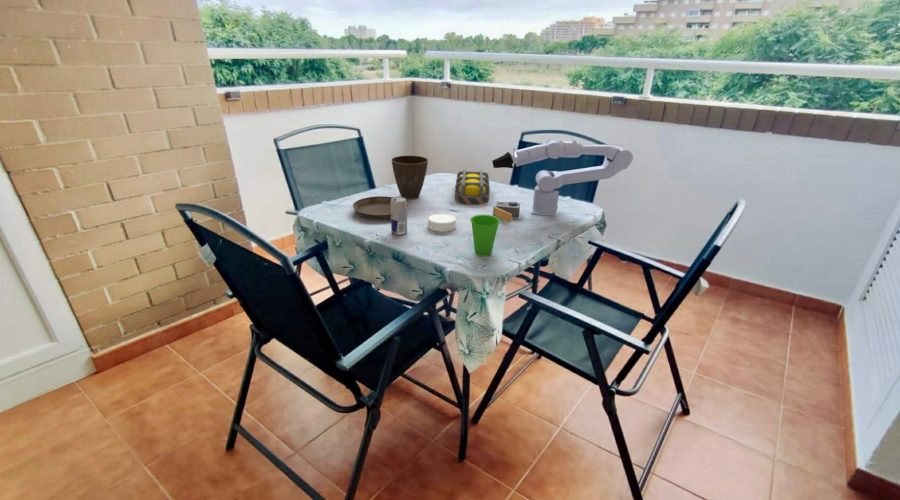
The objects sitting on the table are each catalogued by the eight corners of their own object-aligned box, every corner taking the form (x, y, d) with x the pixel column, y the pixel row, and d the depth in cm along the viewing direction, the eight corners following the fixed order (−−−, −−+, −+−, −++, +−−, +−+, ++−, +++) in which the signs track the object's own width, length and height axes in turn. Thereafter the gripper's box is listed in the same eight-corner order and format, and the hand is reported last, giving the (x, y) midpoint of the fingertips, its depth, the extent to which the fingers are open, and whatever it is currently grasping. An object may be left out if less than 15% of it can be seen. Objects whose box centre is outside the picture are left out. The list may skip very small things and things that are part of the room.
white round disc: (453, 221, 160) (453, 212, 158) (458, 231, 151) (458, 222, 149) (426, 222, 158) (426, 213, 156) (429, 233, 149) (429, 223, 148)
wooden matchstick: (511, 222, 158) (512, 214, 156) (509, 222, 157) (510, 214, 156) (494, 214, 165) (494, 206, 164) (492, 214, 164) (493, 206, 163)
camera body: (519, 212, 169) (520, 201, 167) (518, 219, 163) (519, 207, 161) (494, 210, 171) (495, 199, 169) (492, 216, 164) (493, 205, 162)
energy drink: (392, 229, 151) (391, 196, 146) (408, 229, 151) (407, 196, 146) (390, 235, 146) (389, 201, 141) (406, 235, 146) (405, 202, 141)
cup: (464, 255, 133) (466, 222, 128) (473, 244, 141) (475, 212, 136) (493, 260, 130) (495, 227, 125) (500, 249, 138) (503, 216, 133)
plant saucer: (418, 212, 167) (418, 204, 166) (376, 226, 153) (376, 218, 152) (383, 200, 180) (383, 192, 178) (342, 212, 166) (341, 204, 164)
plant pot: (413, 189, 194) (412, 153, 187) (435, 197, 184) (435, 160, 177) (385, 195, 184) (384, 158, 178) (407, 204, 175) (406, 165, 168)
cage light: (454, 185, 173) (457, 167, 201) (453, 204, 177) (456, 184, 204) (490, 187, 173) (489, 168, 200) (489, 206, 176) (488, 185, 203)
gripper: (524, 143, 168) (490, 152, 170) (528, 145, 154) (490, 155, 156) (528, 161, 169) (494, 170, 171) (532, 165, 155) (495, 174, 157)
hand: (492, 164), depth 164 cm, fingers open, 7 cm apart
